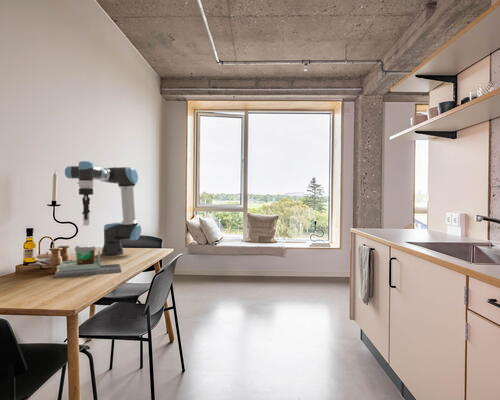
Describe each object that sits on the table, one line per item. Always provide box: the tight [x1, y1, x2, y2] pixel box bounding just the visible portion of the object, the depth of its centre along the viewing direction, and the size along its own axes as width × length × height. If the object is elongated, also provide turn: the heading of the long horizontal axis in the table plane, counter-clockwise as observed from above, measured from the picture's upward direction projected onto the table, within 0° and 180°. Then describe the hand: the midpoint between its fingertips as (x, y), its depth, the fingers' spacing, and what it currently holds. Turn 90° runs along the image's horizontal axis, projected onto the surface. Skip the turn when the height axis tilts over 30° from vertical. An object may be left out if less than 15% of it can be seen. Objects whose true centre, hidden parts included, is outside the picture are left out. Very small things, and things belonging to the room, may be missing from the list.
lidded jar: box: [36, 251, 52, 262], centre depth 204 cm, size 11×11×9 cm
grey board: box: [54, 263, 122, 279], centre depth 195 cm, size 18×33×2 cm, turn 114°
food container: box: [74, 245, 97, 265], centre depth 193 cm, size 12×6×10 cm, turn 76°
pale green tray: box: [58, 246, 101, 271], centre depth 193 cm, size 16×20×10 cm
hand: (86, 224), depth 198 cm, fingers open, 13 cm apart
